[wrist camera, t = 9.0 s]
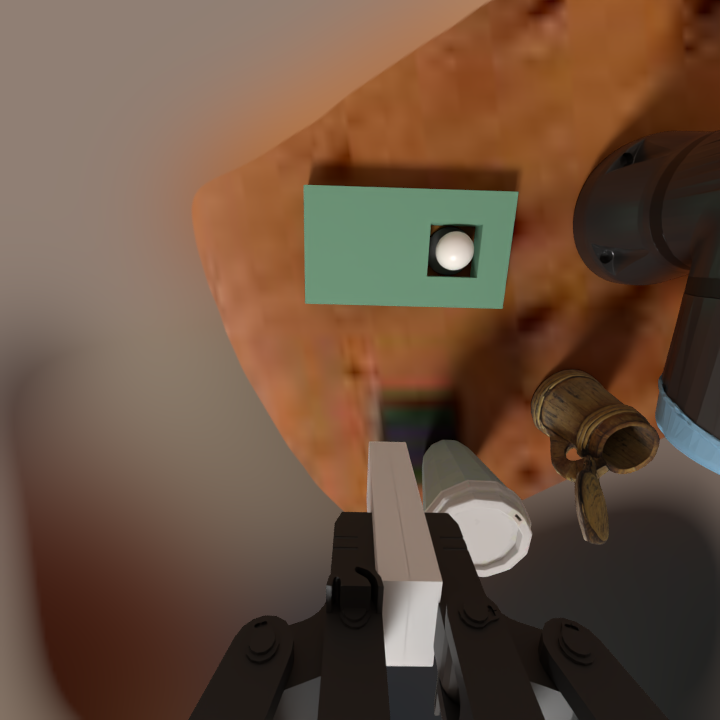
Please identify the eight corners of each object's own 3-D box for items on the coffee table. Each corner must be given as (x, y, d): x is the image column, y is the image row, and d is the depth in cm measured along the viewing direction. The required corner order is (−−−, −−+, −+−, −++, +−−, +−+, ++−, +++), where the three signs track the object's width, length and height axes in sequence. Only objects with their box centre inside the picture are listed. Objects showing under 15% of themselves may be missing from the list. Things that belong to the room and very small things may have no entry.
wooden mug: (486, 413, 46) (564, 506, 29) (582, 356, 44) (727, 419, 27) (518, 463, 48) (609, 578, 31) (611, 410, 46) (763, 502, 29)
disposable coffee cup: (438, 505, 50) (471, 606, 36) (388, 455, 48) (401, 540, 33) (500, 460, 48) (561, 547, 34) (450, 406, 46) (493, 473, 32)
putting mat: (508, 195, 39) (518, 191, 37) (494, 305, 42) (502, 308, 40) (306, 189, 39) (303, 184, 36) (308, 300, 42) (305, 303, 40)
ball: (483, 232, 38) (462, 229, 35) (478, 271, 39) (457, 271, 36) (451, 233, 41) (429, 230, 38) (448, 269, 42) (426, 269, 39)
